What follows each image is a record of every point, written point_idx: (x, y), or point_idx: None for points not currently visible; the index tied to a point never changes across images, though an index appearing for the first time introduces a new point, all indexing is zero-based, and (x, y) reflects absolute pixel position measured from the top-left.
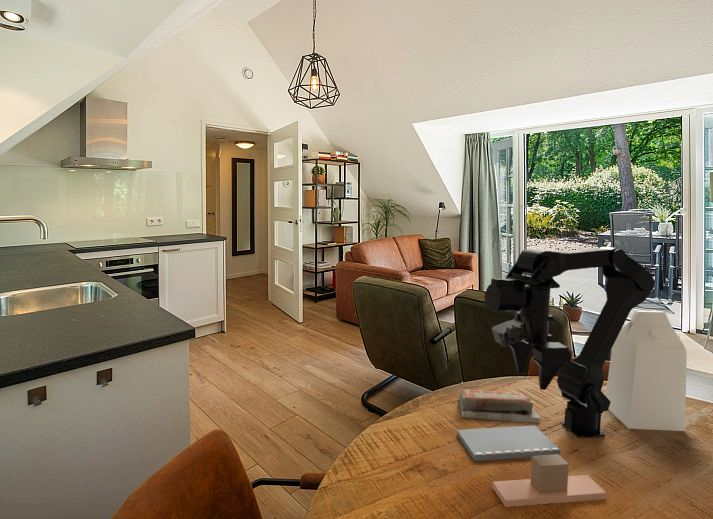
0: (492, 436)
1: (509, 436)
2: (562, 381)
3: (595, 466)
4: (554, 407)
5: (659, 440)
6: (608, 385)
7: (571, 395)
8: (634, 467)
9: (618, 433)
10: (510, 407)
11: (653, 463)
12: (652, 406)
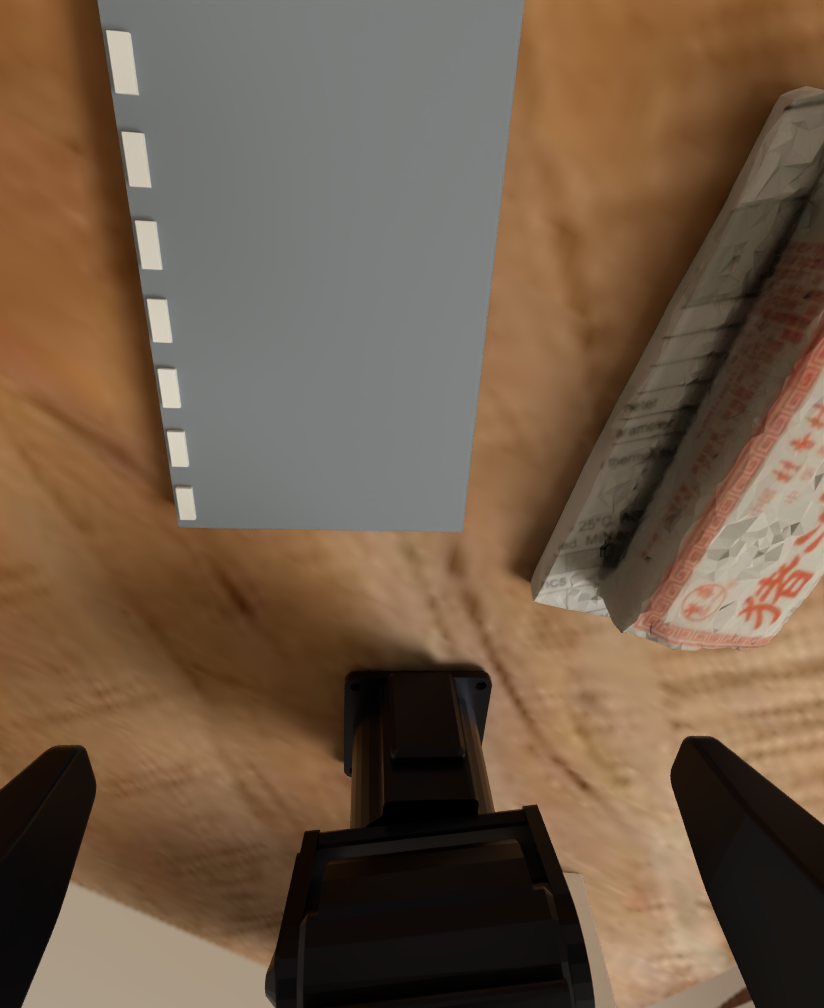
0: (373, 156)
1: (356, 299)
2: (491, 935)
3: (95, 609)
4: (644, 718)
5: None
6: (600, 994)
7: (395, 864)
8: (101, 735)
9: None
10: (672, 492)
11: (136, 800)
12: None
